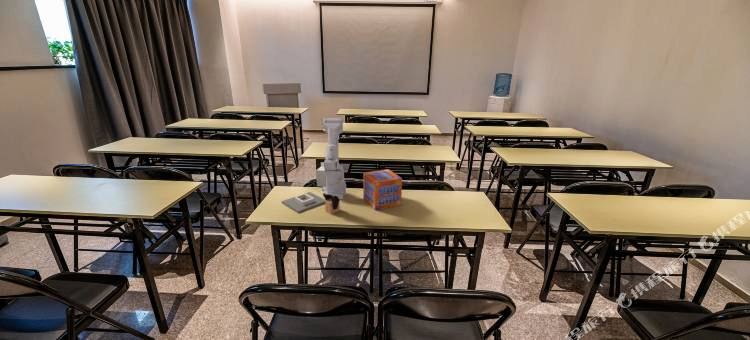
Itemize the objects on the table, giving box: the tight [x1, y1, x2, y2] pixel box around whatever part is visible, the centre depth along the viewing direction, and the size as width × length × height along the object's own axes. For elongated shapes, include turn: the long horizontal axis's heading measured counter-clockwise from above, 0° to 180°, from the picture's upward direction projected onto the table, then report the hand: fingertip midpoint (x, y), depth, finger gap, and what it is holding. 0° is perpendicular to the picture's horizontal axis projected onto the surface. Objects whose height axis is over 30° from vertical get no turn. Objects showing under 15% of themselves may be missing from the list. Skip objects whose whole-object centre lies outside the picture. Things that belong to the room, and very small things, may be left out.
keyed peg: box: [324, 199, 341, 215], centre depth 155 cm, size 6×4×6 cm, turn 136°
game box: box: [362, 169, 403, 211], centre depth 165 cm, size 16×16×16 cm
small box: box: [316, 165, 326, 188], centre depth 188 cm, size 8×6×10 cm
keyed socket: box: [281, 191, 326, 214], centre depth 164 cm, size 18×16×3 cm
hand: (332, 207), depth 156 cm, fingers closed on keyed peg, 4 cm apart
